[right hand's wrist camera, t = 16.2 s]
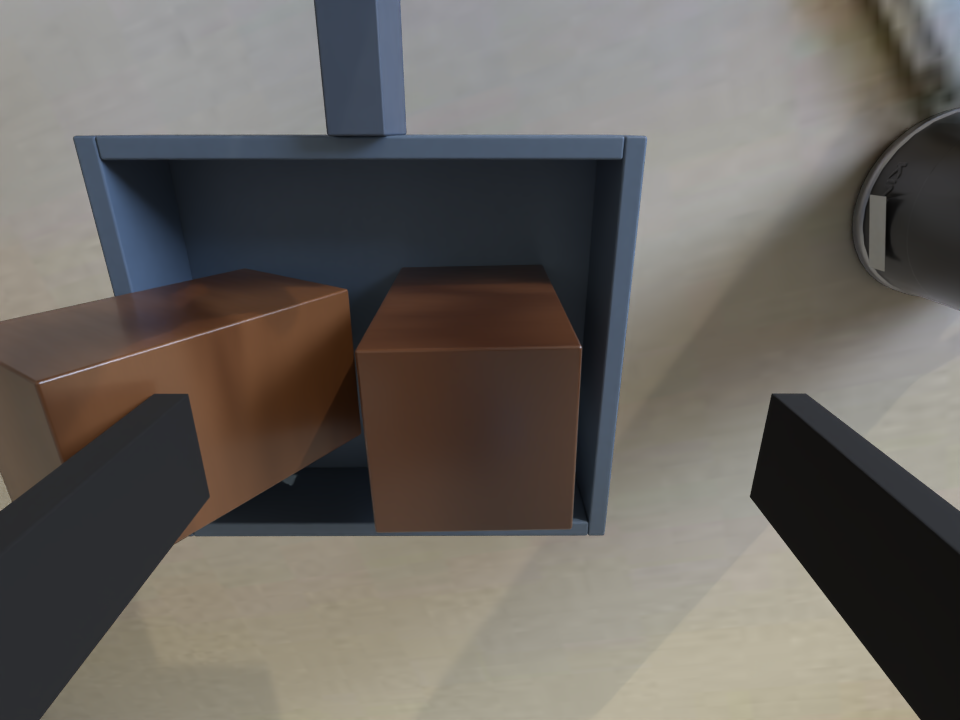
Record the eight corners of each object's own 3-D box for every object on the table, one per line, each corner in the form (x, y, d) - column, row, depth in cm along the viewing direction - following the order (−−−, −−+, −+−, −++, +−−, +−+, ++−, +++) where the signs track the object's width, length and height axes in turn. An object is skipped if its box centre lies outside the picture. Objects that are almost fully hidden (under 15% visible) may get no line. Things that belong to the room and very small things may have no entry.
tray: (229, 466, 24) (169, 546, 19) (40, -456, 14) (-187, -760, 9) (582, 465, 24) (607, 546, 19) (659, -454, 14) (753, -756, 9)
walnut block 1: (267, 397, 21) (14, 508, 15) (245, 267, 19) (-56, 332, 13) (362, 434, 18) (104, 587, 12) (348, 288, 16) (34, 382, 10)
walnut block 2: (410, 394, 21) (374, 534, 14) (401, 266, 19) (353, 350, 12) (539, 392, 21) (572, 530, 14) (543, 264, 19) (582, 346, 12)
